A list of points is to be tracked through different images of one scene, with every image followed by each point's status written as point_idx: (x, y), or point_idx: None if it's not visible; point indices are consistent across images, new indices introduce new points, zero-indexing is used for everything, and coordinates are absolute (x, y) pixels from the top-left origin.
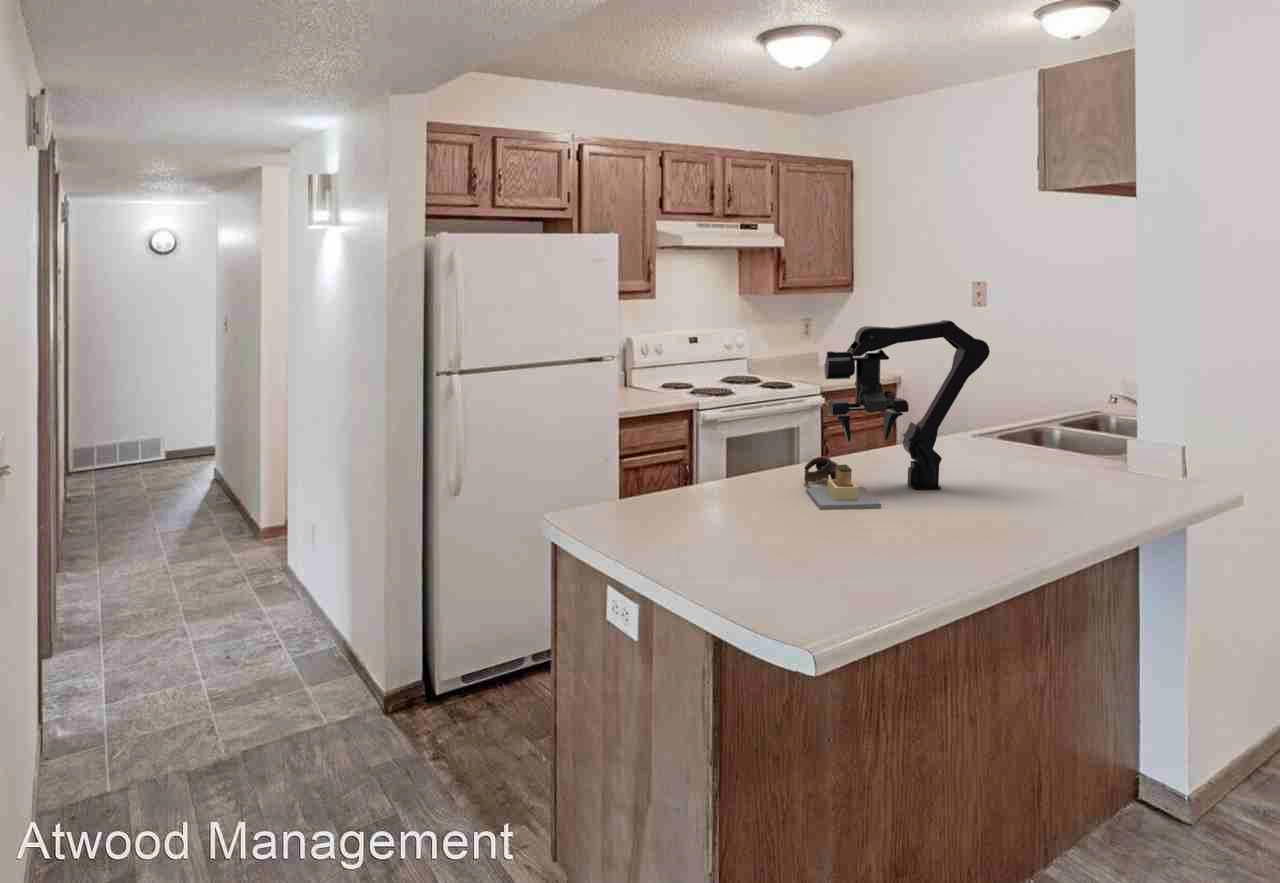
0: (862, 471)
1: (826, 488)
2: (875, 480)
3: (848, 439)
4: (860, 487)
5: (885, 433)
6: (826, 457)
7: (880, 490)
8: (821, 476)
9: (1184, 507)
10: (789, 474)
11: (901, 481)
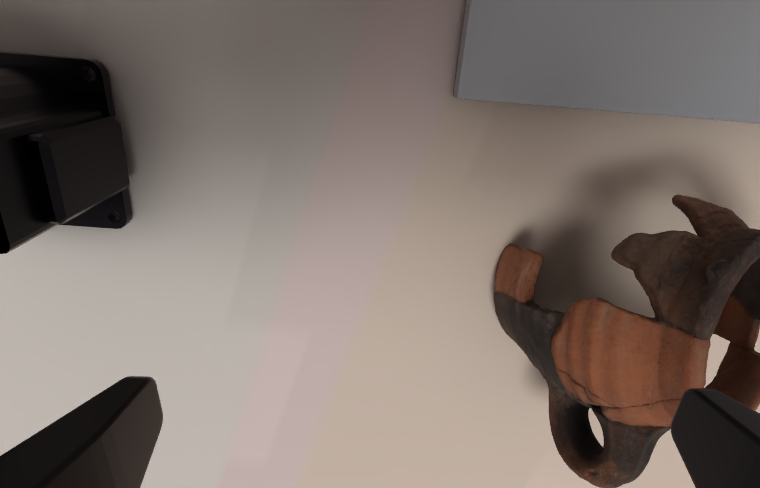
0: (305, 475)
1: (715, 98)
2: (294, 321)
3: (745, 409)
4: (480, 87)
5: (92, 468)
6: (700, 387)
7: (336, 93)
8: (733, 215)
9: None
10: (659, 473)
11: (156, 281)
